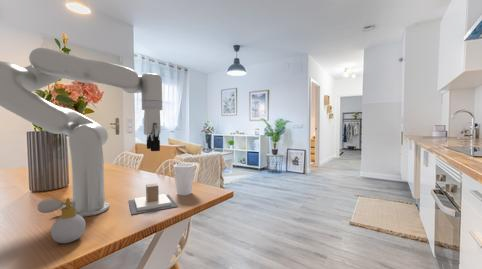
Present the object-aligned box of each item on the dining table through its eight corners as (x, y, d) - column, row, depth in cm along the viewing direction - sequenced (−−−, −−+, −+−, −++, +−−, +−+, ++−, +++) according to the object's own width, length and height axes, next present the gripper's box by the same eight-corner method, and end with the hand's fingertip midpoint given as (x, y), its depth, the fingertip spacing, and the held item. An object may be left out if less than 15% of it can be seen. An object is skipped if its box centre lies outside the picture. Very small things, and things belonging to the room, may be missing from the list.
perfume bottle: (89, 239, 61) (88, 196, 61) (42, 255, 54) (40, 206, 54) (81, 231, 66) (80, 191, 66) (37, 244, 59) (35, 199, 58)
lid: (137, 211, 81) (136, 191, 81) (134, 201, 91) (134, 183, 91) (171, 205, 87) (171, 186, 87) (165, 196, 97) (164, 180, 97)
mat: (131, 215, 78) (131, 214, 78) (128, 201, 92) (128, 200, 92) (177, 206, 86) (177, 205, 86) (168, 195, 100) (168, 194, 100)
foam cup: (182, 197, 97) (182, 167, 96) (169, 193, 103) (169, 165, 102) (199, 192, 104) (198, 164, 104) (186, 189, 110) (185, 162, 110)
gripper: (139, 107, 93) (140, 148, 94) (145, 104, 79) (146, 152, 79) (158, 107, 97) (158, 147, 98) (167, 104, 82) (167, 151, 83)
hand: (153, 149), depth 89 cm, fingers open, 9 cm apart
